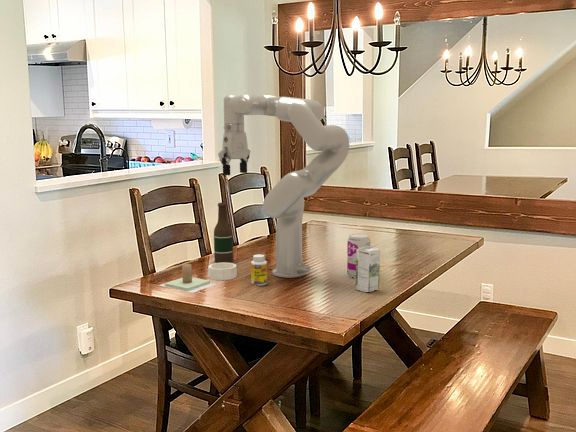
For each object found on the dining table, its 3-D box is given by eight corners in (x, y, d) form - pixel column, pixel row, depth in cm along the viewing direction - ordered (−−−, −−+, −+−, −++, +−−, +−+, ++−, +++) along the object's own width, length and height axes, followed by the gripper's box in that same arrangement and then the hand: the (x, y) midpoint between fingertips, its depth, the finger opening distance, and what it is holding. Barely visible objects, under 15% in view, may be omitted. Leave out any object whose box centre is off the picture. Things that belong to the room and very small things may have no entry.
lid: (210, 283, 214) (209, 263, 213) (187, 291, 205) (187, 270, 204) (187, 278, 220) (186, 259, 219) (164, 286, 211) (163, 266, 210)
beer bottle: (230, 265, 242) (228, 204, 237) (211, 264, 243) (209, 204, 239) (236, 260, 249) (234, 201, 245) (217, 259, 251) (215, 201, 246)
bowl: (242, 276, 224) (241, 264, 223) (224, 283, 216) (223, 270, 215) (221, 272, 230) (221, 261, 229) (203, 279, 222) (202, 266, 221)
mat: (216, 285, 213) (216, 284, 213) (192, 294, 203) (192, 292, 203) (183, 279, 222) (183, 277, 222) (158, 287, 212) (158, 285, 212)
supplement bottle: (252, 286, 211) (252, 257, 210) (250, 282, 217) (249, 254, 215) (268, 285, 213) (268, 256, 211) (265, 281, 218) (265, 253, 216)
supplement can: (355, 280, 218) (355, 239, 216) (343, 274, 226) (343, 234, 223) (374, 277, 222) (374, 236, 219) (361, 272, 229) (361, 232, 227)
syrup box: (366, 286, 210) (366, 245, 208) (379, 290, 206) (380, 248, 204) (355, 290, 206) (355, 248, 204) (368, 293, 202) (369, 250, 200)
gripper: (226, 129, 222) (227, 176, 225) (256, 128, 236) (257, 172, 239) (211, 129, 227) (212, 175, 230) (241, 127, 240) (242, 171, 243)
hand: (235, 173), depth 234 cm, fingers open, 9 cm apart
